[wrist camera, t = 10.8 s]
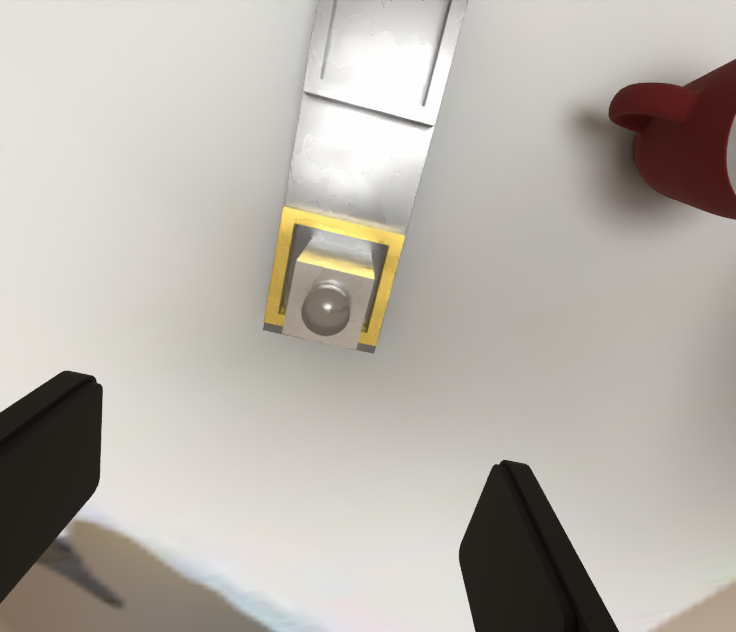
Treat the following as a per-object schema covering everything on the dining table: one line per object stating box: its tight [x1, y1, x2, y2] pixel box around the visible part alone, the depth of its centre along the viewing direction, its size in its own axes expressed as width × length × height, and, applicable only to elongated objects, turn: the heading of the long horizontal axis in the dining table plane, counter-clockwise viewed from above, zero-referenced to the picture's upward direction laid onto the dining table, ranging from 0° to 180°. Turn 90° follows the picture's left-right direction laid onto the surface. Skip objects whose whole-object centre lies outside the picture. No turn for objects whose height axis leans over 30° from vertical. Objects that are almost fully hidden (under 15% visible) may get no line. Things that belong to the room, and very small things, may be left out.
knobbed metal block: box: [282, 239, 375, 350], centre depth 24 cm, size 4×4×8 cm
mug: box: [608, 59, 736, 220], centre depth 23 cm, size 11×8×10 cm
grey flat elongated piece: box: [263, 0, 468, 353], centre depth 26 cm, size 8×24×4 cm, turn 167°
